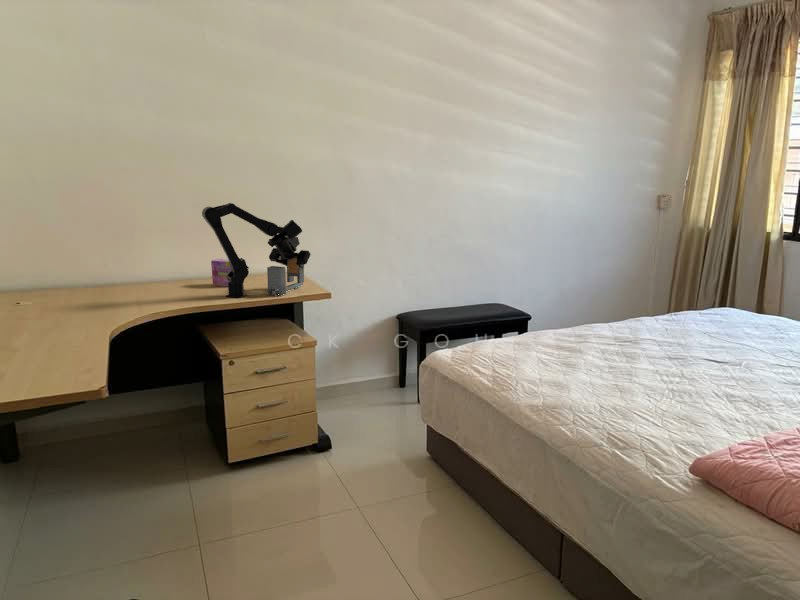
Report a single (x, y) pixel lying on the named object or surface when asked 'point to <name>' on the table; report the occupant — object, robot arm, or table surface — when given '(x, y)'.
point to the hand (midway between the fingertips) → (296, 267)
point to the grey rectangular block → (294, 271)
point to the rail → (287, 288)
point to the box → (220, 271)
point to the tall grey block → (276, 279)
